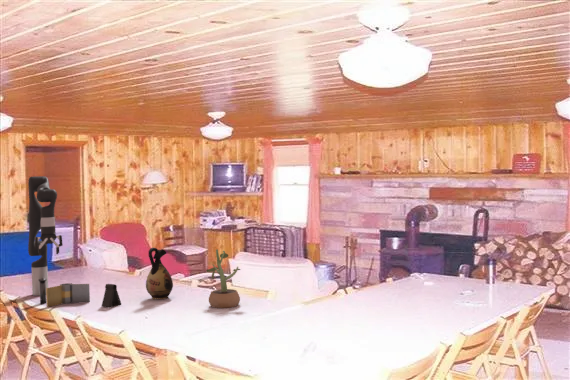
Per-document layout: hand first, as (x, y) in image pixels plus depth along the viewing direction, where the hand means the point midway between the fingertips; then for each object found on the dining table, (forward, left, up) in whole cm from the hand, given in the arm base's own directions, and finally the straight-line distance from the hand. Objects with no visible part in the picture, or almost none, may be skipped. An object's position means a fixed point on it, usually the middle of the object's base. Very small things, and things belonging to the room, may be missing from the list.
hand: (49, 254), depth 345 cm
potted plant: (+48, +83, -30) cm, 100 cm away
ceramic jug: (+11, +58, -30) cm, 66 cm away
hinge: (-7, +10, -29) cm, 32 cm away
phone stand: (+15, +30, -30) cm, 45 cm away
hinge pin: (-15, -2, -29) cm, 33 cm away
